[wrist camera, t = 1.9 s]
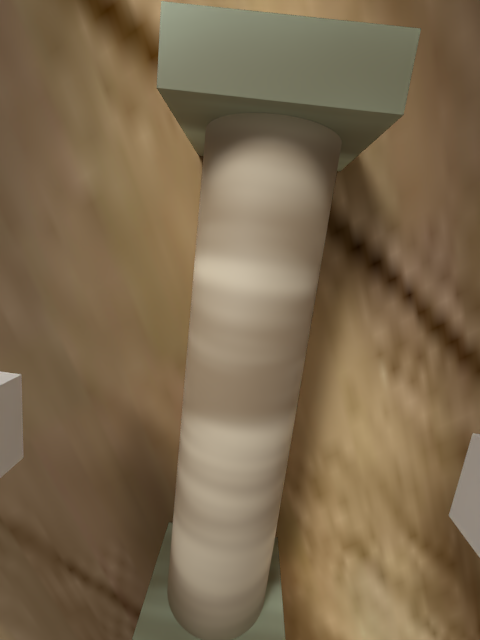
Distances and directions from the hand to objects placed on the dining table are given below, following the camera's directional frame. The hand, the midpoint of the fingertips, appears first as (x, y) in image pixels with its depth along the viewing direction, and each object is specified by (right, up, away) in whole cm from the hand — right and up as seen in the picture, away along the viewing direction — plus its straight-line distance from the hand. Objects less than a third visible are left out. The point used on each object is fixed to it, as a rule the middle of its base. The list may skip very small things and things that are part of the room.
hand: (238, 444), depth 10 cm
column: (0, +1, +5) cm, 5 cm away
